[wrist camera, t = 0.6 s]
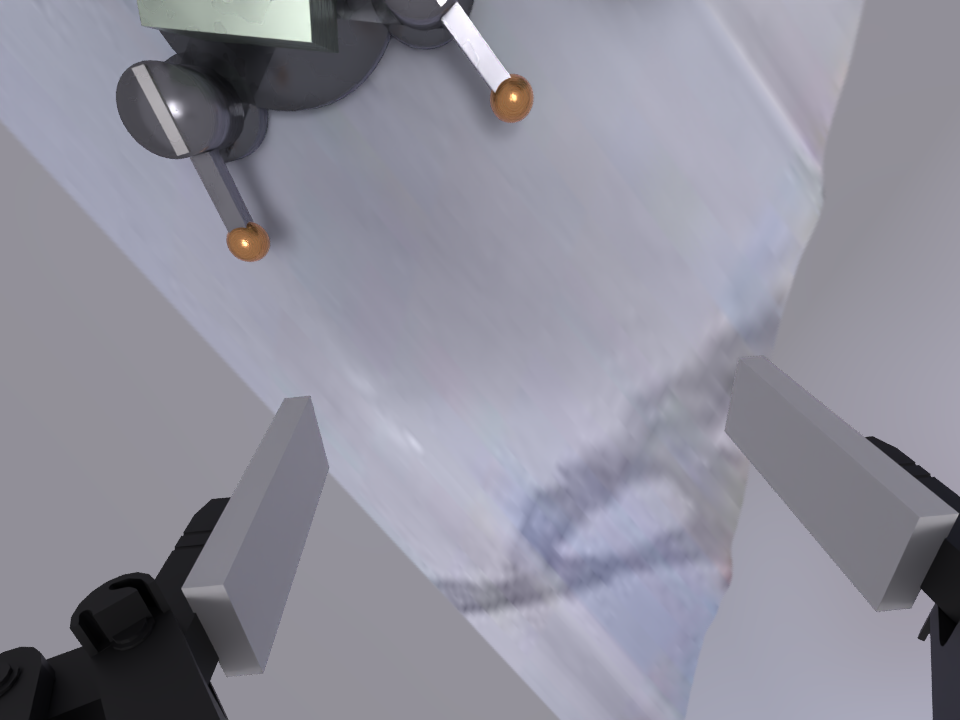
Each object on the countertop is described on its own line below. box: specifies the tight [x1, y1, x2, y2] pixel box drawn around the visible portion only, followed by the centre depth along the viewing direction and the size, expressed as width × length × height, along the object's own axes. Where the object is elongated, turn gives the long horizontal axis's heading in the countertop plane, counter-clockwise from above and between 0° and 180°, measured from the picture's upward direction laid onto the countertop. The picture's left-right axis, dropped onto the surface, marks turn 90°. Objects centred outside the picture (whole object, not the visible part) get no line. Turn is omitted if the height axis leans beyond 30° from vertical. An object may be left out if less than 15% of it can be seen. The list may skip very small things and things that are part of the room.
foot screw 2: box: [383, 0, 534, 123], centre depth 28 cm, size 12×5×6 cm, turn 41°
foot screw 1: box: [116, 60, 270, 262], centre depth 31 cm, size 12×5×6 cm, turn 16°
